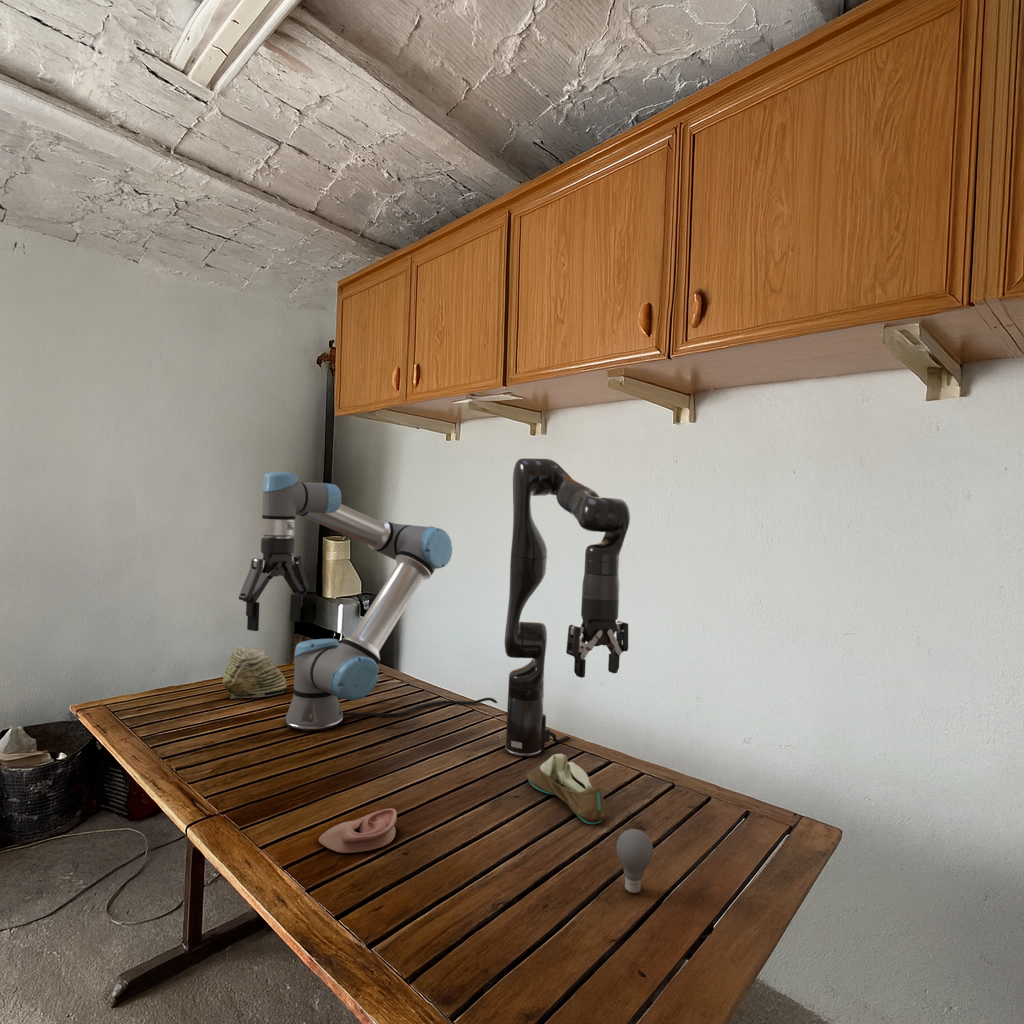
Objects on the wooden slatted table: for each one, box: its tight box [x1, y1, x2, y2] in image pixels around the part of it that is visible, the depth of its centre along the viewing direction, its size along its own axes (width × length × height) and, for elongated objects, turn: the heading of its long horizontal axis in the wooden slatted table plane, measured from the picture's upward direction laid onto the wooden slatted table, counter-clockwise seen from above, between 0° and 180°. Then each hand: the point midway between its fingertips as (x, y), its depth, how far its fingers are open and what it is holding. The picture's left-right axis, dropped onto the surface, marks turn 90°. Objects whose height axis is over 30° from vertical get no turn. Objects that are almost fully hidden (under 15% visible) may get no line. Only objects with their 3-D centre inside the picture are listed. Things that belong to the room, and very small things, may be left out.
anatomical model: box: [318, 807, 398, 854], centre depth 118 cm, size 13×4×12 cm
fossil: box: [222, 646, 288, 699], centre depth 198 cm, size 9×18×15 cm, turn 132°
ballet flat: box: [526, 753, 608, 825], centre depth 137 cm, size 8×24×9 cm, turn 29°
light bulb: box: [615, 828, 654, 894], centre depth 106 cm, size 6×6×10 cm
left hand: (274, 625), depth 152 cm, fingers open, 13 cm apart
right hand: (596, 674), depth 129 cm, fingers open, 8 cm apart
